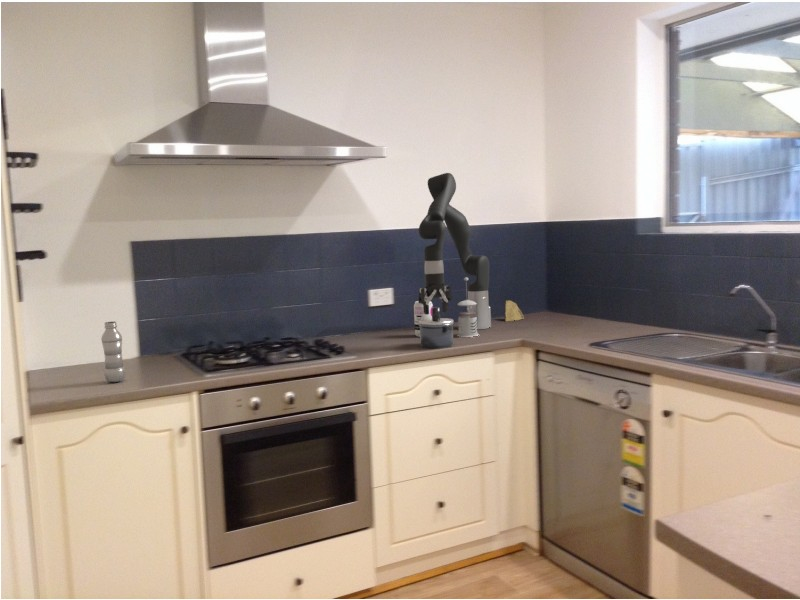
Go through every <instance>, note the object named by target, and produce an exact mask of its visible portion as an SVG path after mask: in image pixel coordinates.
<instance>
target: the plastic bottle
mask: <svg viewBox="0 0 800 600" xmlns="http://www.w3.org/2000/svg"><path fill="white" fill-rule="evenodd" d="M117 327H118V325H117V321H106V322H104V329H105V330H104V332H103V334H102V335H101V344H102V348H103V353H104V378H105V381H106V382H107V383H108V382H109V383H119V382H121V381H123V380H125V379H126V369H125V366H124V361H123V354H122V352H123V350H122V347H123V346H122V344H123V336H122V334H121V333H120V331H119V330H118V329H117Z"/></svg>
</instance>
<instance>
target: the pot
mask: <svg viewBox="0 0 800 600" xmlns="http://www.w3.org/2000/svg"><path fill="white" fill-rule="evenodd" d="M419 326H420V337H419V341H420V347H421V348H423V347H424V348H423V349H444V348H443V347H447V348H450V347H449V346H451V347H453V346H454V323H452V324H447V325H421V324H419ZM452 345H453V346H452Z"/></svg>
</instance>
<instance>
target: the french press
mask: <svg viewBox="0 0 800 600" xmlns="http://www.w3.org/2000/svg"><path fill="white" fill-rule="evenodd" d="M463 281H465V288H466V291H465V293H466V295H465V296H466V298H468V285H467V281H469V277H467V276H466V277H464V278H463ZM476 304H477V303H475V302H473V301H470V300H468V299H464V300H462V301H459V302H457V306H459V307H466V310H467V311H464V312H463V311H462V312H459V313H458V315H459V316H458V318H457V320H458V321H457V322H458V334H456V337H457V336H461V337H460V338H462V337H471V338H474V337H473V336H478V335H479V336H480V334H479V332H478V329H477V316H473V315H475V314H476V313H475V312H473V311H472V312H469V309H468V306H471V308H472V306H474V305H476ZM471 308H470V309H471ZM469 315H472V316H470V318H469ZM475 322H476V323H475ZM475 325H476V326H475ZM475 328H476V329H475ZM479 336H478V337H479Z"/></svg>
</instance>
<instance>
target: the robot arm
mask: <svg viewBox="0 0 800 600" xmlns="http://www.w3.org/2000/svg"><path fill="white" fill-rule="evenodd" d="M427 188H428V191H429V193H430V195H431V197H432V202H431V204H430V205H429V207H428V210H427V213H426V216H425V217H424V218H423V219H422V220H421V222H420V224H419V227H418V235H419V236H420V238H421V239H423V240H436V242H435V243H433V244H430V245H426V246H424V251H423V253H424V284H425V287H424V288H423V287H419V288H418V301H419V303H421V304H423V310H424V313H425V314H429V305H428V304H429V302H430V301H432V300H433V299H436V298H437V299H438V298H439V300H441V302H442V303H441V305H442V307H441V308H442V309H441V312H442V313H447V312H448V309H449V308H448V307H449V306H448V303H449V302H450V301H452V298H453V297H452V286H451V285H444V284H445V275H444V274H445V271H444V270H445V268H444V260H443V258H444V257H443V248H444V241H445V238H446V234H447V231H448V233H449V235H450V236H451V240H452V241H453V244H454V246H455V248H456V251H457V254H458V256H459V260H460V263H461V266H462V268H463V271H464V273H465V274H466V275H468V276H472V277H473V276H476V277H475V281H473V282H471V283H469V284H468V285H467V300H470V301H473V302H475V303H477V304H476V305H474V306H472V308H471V306H468V307H467V308H468V309H469V312H472V311H473V312H475V313H476V314H475V315H473V316H477V330H485V329H489V327H490V328H492V313H491V311H492V310H491V308H492V307H491V306H490V305H489V287H490V285H489V284H490V268H491V267H490V260H489V258H488V257H487V256H486V255H483V254H479V255H478V254H476V255H475V254H472V251H471V249H470V246H469V245H470V239H471V233H472V229H471V227H470V225H469V222H468V219H467V218H466V216H465V215H464V213H462V212H461V211H459V210H458V209H456V208H455V207H454V206H452V205H451V204H450V202H451V201H452V200H453V197H454V195H455V193H456V190H457V183H456V179H455V177H454V175H453V174H452V173H450V172H445V173H441V174H439V175H435V176H432V177H429V178H428V179H427ZM444 292H445V293H444ZM470 308H471V309H470ZM468 309H467V310H468ZM470 316H472V315H469V318H470ZM475 323H476V322H475ZM475 326H476V325H475ZM475 329H476V328H475Z"/></svg>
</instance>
